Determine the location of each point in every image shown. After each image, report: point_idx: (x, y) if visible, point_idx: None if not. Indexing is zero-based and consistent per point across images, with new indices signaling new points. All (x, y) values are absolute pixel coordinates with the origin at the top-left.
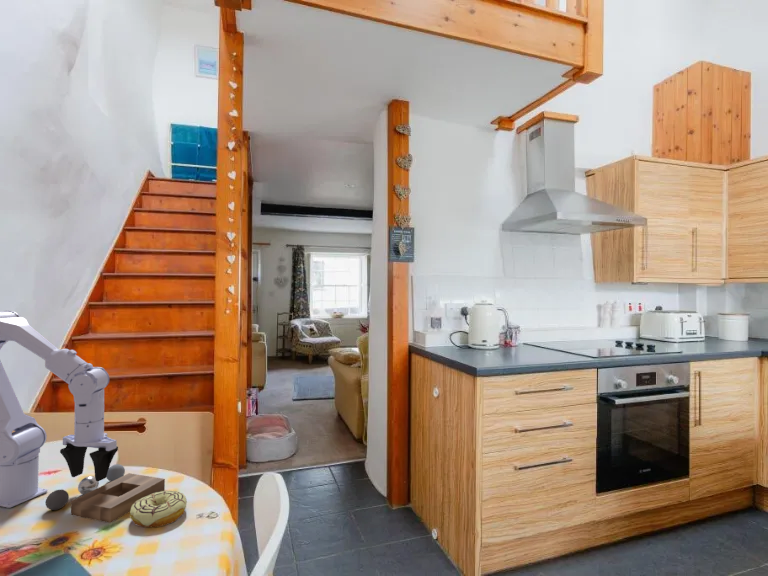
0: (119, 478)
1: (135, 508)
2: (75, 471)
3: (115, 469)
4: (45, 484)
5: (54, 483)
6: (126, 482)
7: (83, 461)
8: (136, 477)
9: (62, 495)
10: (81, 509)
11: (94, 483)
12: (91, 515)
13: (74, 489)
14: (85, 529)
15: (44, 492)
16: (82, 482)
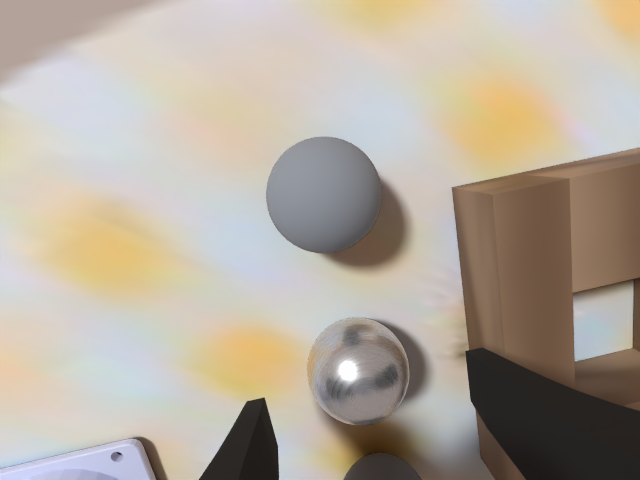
0: (507, 272)
1: None
2: (271, 465)
3: (368, 223)
4: (6, 408)
5: (34, 379)
6: (600, 281)
7: (250, 458)
8: (600, 210)
9: None
10: None
11: (408, 367)
12: None
13: (226, 355)
14: None
15: (145, 454)
16: (372, 423)
